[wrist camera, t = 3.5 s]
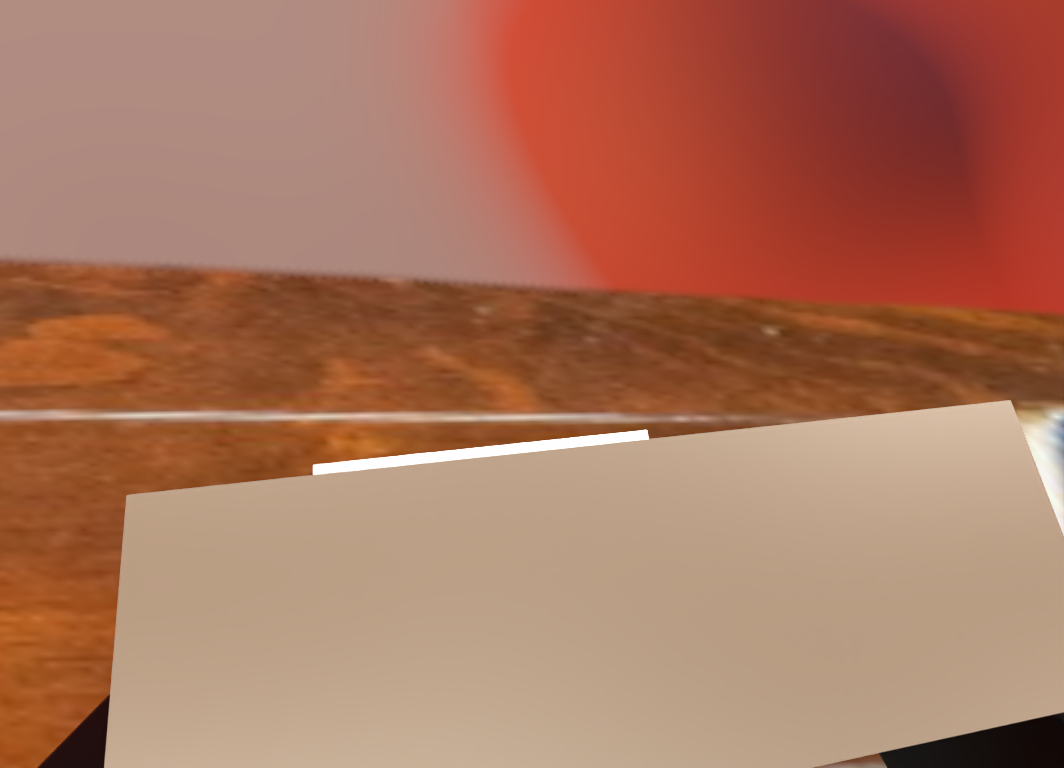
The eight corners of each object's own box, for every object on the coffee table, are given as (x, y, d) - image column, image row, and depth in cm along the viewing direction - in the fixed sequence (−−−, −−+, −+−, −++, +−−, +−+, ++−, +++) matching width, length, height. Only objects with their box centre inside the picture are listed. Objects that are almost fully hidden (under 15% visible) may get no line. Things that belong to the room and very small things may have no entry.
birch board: (598, 577, 17) (1126, 696, 3) (403, 606, 16) (90, 925, 2) (588, 512, 17) (1009, 400, 4) (399, 536, 16) (126, 494, 3)
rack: (731, 917, 15) (811, 1025, 12) (326, 1023, 13) (279, 1187, 10) (641, 433, 19) (681, 408, 15) (317, 467, 17) (282, 448, 14)
